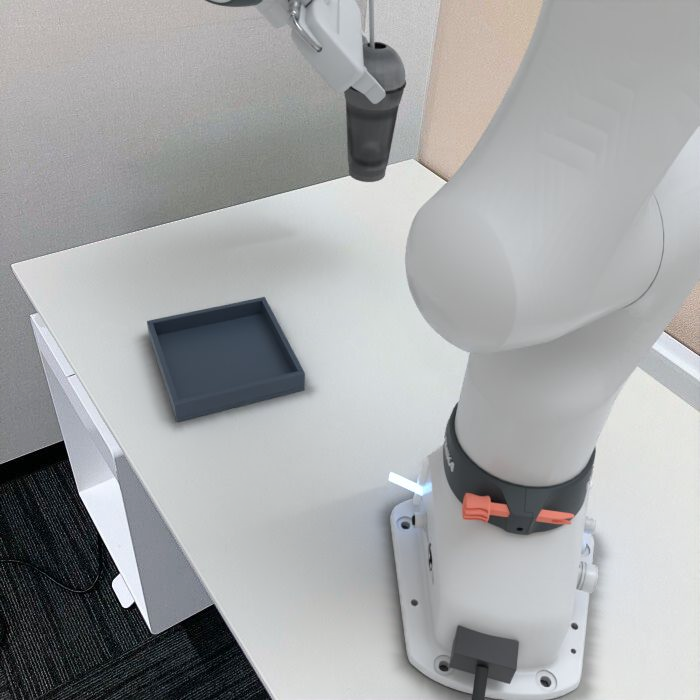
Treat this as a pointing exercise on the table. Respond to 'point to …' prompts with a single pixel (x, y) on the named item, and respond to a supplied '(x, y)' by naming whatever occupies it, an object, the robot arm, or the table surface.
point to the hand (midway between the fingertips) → (379, 81)
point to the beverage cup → (374, 111)
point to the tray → (224, 358)
